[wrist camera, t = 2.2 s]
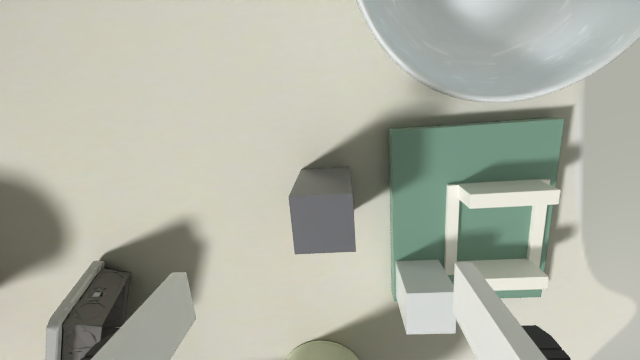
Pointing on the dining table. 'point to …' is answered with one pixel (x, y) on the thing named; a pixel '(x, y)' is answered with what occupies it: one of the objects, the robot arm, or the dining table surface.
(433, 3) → the serving bowl
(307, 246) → the plug
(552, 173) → the board
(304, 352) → the can
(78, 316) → the electrical switch
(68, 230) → the dining table surface
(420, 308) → the plug
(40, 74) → the dining table surface
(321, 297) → the dining table surface
